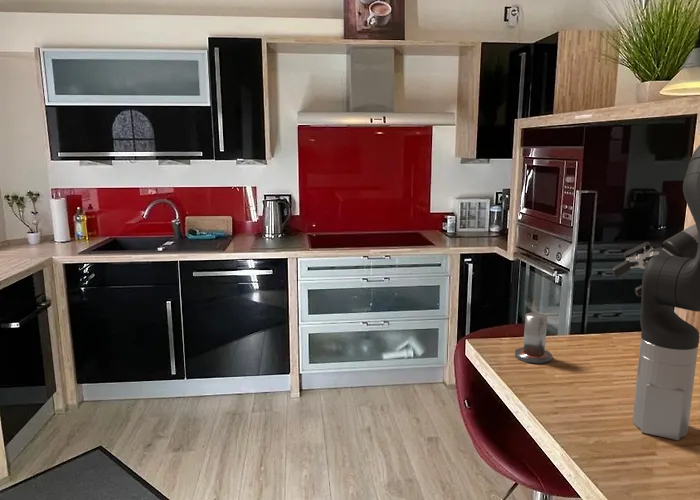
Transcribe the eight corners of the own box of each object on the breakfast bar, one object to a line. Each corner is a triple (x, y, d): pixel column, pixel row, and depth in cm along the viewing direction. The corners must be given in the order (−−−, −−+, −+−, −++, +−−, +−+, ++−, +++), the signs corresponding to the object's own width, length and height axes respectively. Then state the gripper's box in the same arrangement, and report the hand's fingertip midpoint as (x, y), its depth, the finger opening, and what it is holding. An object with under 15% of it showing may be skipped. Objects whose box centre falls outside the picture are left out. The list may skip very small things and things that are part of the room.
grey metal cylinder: (542, 358, 132) (545, 320, 130) (521, 354, 134) (523, 316, 132) (546, 351, 136) (548, 314, 134) (525, 347, 139) (527, 311, 137)
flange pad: (548, 366, 129) (548, 362, 129) (511, 359, 134) (511, 355, 134) (554, 354, 137) (554, 350, 137) (518, 348, 141) (519, 344, 141)
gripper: (667, 218, 119) (601, 255, 121) (714, 247, 106) (640, 288, 109) (674, 243, 122) (611, 278, 124) (721, 273, 110) (649, 312, 112)
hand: (624, 283), depth 117 cm, fingers open, 8 cm apart
